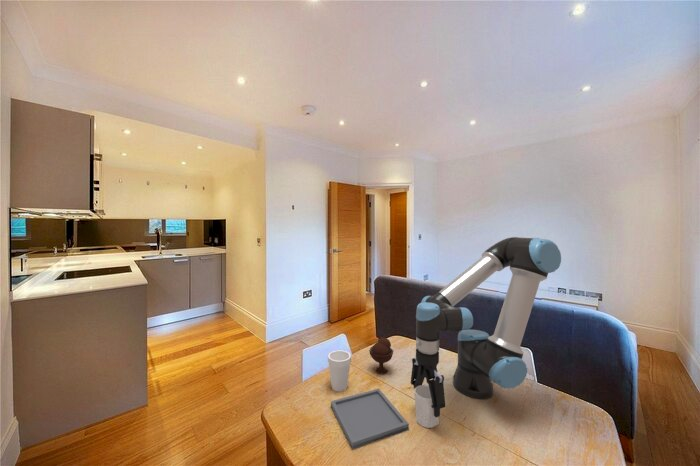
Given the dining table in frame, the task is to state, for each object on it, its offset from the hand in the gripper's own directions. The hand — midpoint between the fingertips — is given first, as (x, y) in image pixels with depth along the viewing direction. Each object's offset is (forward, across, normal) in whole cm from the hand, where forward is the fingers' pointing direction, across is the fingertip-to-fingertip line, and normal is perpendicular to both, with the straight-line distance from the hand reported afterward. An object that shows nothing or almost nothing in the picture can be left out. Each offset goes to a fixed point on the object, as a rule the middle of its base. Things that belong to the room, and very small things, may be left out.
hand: (426, 415), depth 89 cm
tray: (+2, -9, -18) cm, 20 cm away
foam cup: (+2, -29, -21) cm, 36 cm away
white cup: (+2, 0, 0) cm, 2 cm away
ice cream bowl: (+2, -33, +1) cm, 33 cm away
